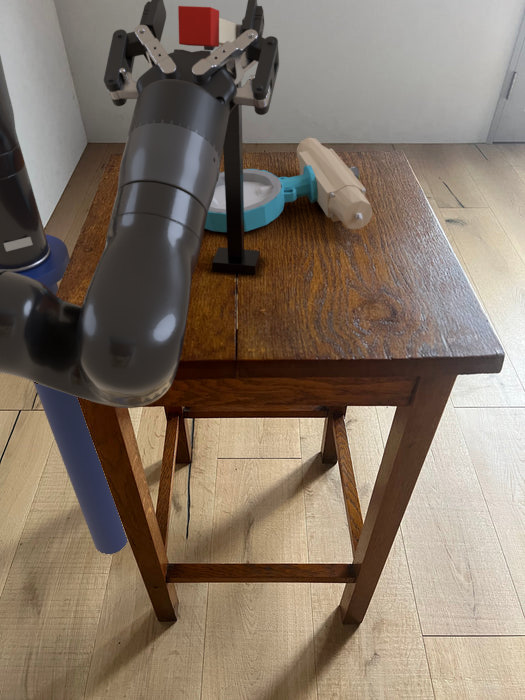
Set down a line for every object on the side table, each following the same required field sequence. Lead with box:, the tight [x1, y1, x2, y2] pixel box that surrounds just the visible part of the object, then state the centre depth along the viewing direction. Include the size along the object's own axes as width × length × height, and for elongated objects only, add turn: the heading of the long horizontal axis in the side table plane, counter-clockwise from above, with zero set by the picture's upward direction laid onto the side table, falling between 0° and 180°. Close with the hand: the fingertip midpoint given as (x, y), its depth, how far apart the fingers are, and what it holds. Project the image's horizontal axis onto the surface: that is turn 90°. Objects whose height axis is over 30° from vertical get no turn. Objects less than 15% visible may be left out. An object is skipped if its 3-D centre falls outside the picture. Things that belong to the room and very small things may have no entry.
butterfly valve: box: [204, 137, 374, 233], centre depth 90 cm, size 27×7×30 cm
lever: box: [177, 5, 242, 48], centre depth 54 cm, size 3×16×3 cm, turn 171°
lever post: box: [203, 16, 261, 276], centre depth 69 cm, size 6×4×31 cm, turn 81°
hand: (206, 5), depth 50 cm, fingers open, 8 cm apart
